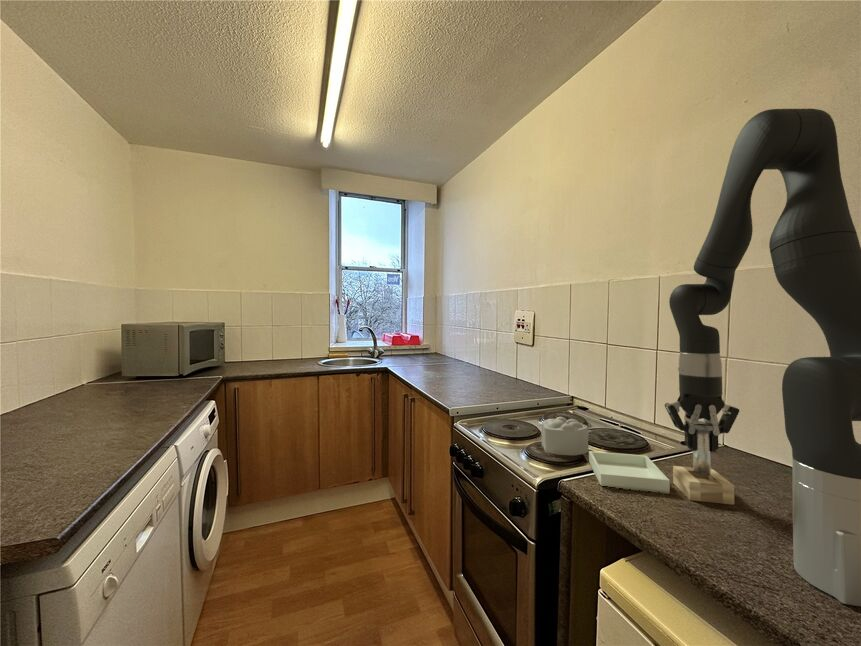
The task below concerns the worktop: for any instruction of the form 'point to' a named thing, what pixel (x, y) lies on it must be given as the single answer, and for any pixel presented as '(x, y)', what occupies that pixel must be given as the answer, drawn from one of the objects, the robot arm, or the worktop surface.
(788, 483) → the worktop surface
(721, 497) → the frame
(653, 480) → the parts tray
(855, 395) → the robot arm
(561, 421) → the lumpy-topped squat cylinder
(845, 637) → the worktop surface
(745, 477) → the worktop surface
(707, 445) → the pin
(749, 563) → the worktop surface
